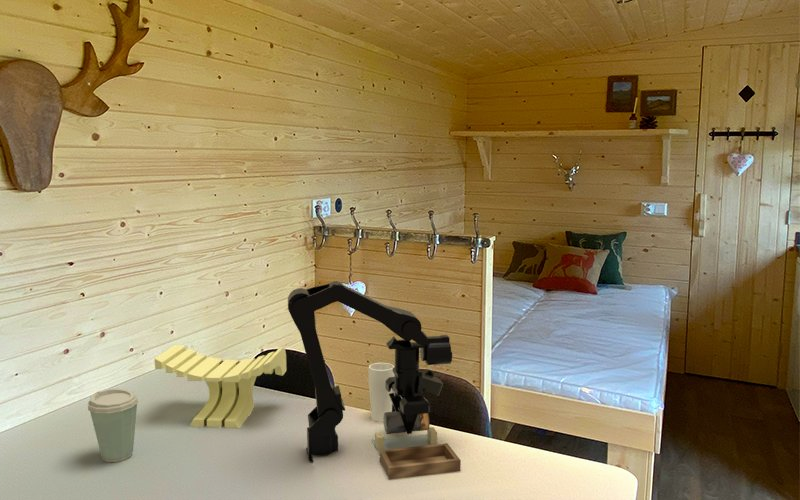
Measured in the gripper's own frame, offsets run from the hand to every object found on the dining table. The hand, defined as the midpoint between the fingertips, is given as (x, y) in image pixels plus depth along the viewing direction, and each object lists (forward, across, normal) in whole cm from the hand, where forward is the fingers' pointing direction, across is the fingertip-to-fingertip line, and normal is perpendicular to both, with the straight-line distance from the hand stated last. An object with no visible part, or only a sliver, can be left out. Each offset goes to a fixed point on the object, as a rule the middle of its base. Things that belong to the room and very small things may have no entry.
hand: (406, 429), depth 156 cm
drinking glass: (+5, +18, +2) cm, 18 cm away
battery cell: (0, 0, 0) cm, 0 cm away
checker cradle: (+5, 0, 0) cm, 5 cm away
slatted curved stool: (+5, +32, +42) cm, 53 cm away
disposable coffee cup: (+5, +12, +66) cm, 67 cm away
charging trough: (+5, -12, 0) cm, 12 cm away
